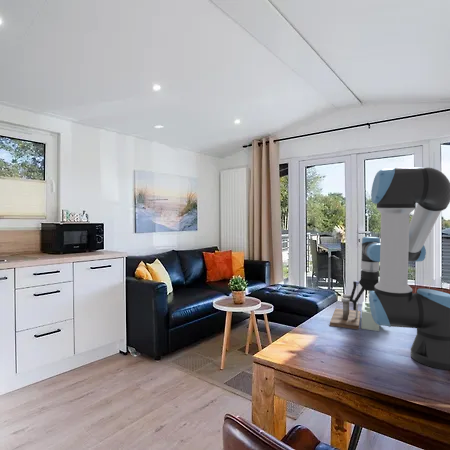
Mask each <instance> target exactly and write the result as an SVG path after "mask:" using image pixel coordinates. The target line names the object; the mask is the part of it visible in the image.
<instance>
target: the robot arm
mask: <svg viewBox="0 0 450 450" xmlns="http://www.w3.org/2000/svg"><path fill="white" fill-rule="evenodd" d="M370 193H371V194H370V196H371V203H372V204H376V210H377V211H378V212H379V213H380V238H379V237H378V236H363V237H362V240H361V263H360V269H361V271H360V279H359V280H353V284H352V285H353V288H352V290H351V293H350V295H351V296H350V298H349V299H350V302H349V303H352V305H353V306H352V307H353V308H352V310H355V311H356V318H357V317H358V311H359V302H358V301H359V300H360V298H361V296H363V293H364V292H365V291H367V292H368V291H370V292H369V293H368V302H369V304H370V310H371V314H372V317H373V320H374V321H375V323H376V324H378V325H379V326H383V327H389V328H392V327H393V328H394V327H395V328H404V329H405V328H409V329H416V335H415V338H414V340H413V343H412V345H411V347H410V357H411V358H412V359H413V360H414V361H416V362H417V363H420V364H422V365H424V366H427V367H431V368H434V369H438V370H439V369H440V370H445V371H446V370H448V371H449V370H450V293H448V292H444V291H440V290H435V289H430V288H418V289H417V290H416V292H413V288H412V287H411V285H409V283H408V279H409V276H408V275H409V274H408V273H409V262H412V263H414V262H415V263H417V262H422V261H425V259H426V255H427V251H426V246H425V243H426V242H427V239H428V238H429V236H430V233H431V232H432V230H433V227H434V226H435V224H436V222H437V220H438V217H440V214H441V212H442V211H445V210H447V208H448V207H449V204H450V180H449V179H448V177H447V176H446V175H445V173H443V172H441V171H440V170H439V169H436V168H434V167H427V166H425V167H424V166H422V167H392V168H383V169H380V170H378V171H377V173H376V174H375V176H374V178H373V181H372V185H371V192H370ZM413 211H414V212H413ZM412 212H413V214H412V215H411V213H412ZM410 215H411V219H410ZM359 285H360V286H361V289H360V290H359V292H358V294H357V295H356V297H355V298H354V296H355V292H356V290H357V286H359Z"/></svg>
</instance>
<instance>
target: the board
mask: <svg viewBox="0 0 450 450" xmlns="http://www.w3.org/2000/svg"><path fill="white" fill-rule="evenodd" d="M350 296H351V294H347V293H346V294H343V295H342V298H341V299H340V300H341V302H342V308H338V307H337V308H335V309H334V312H333V313H332V316H331V319H330V321H329V326H331V327H338V328H346V329H353V330H354V329H355V330H359V329H360V323H361V316H362V310H361V311H360V310H358V317H357V318H356V310H353V309H350V303H351V302H350Z"/></svg>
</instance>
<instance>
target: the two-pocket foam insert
mask: <svg viewBox="0 0 450 450" xmlns="http://www.w3.org/2000/svg"><path fill="white" fill-rule="evenodd" d="M361 304H362V306H361V318H360V323H361V325H360V326H361V327H360V328H361V330H369V331H376V332H377V331H378V332H380V325H378V324H376V323H375V321H374V320H373V317H372V314H371V310H370V304H369V301H362V303H361Z"/></svg>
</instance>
